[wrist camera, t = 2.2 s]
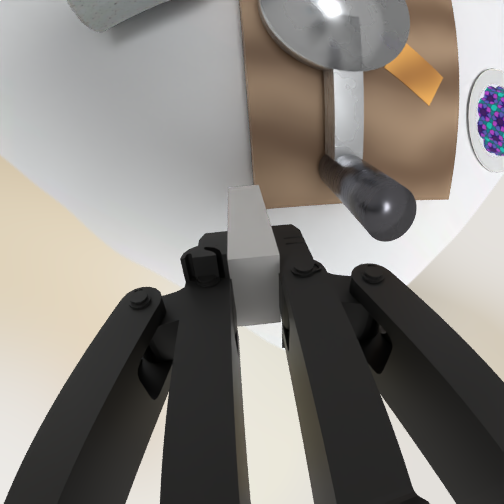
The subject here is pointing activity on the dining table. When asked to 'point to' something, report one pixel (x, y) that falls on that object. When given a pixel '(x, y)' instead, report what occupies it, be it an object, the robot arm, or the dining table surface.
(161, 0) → the ceramic mug
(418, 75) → the wooden cutting board
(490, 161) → the pudding
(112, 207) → the dining table surface
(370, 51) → the steel serving spoon
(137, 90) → the dining table surface
